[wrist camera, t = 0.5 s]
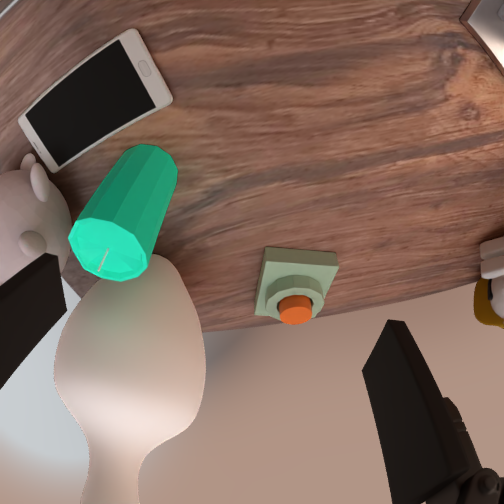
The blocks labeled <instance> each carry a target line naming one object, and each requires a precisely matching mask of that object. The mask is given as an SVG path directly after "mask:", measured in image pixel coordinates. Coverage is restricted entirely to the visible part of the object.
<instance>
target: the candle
mask: <svg viewBox="0 0 504 504" xmlns="http://www.w3.org/2000/svg"><path fill="white" fill-rule="evenodd" d="M177 174H178V169H177V167H176V165H175V163H174V161H173V159H172V157H171V155H169V154H168V153H166V152H165V151H163V150H162V149H161V148H159V147H158V146H153V145H145V144H139V145H137V146H134V147H132V148H130V149H127V150H126V151H125V152H124V153H123V155H122V156H121V157H120V159H119V160H118V161H117V162H116V164H115V165H114V166H113V168H112V169H111V170H110V172H109V173H108V174H107V176H106V177H105V179H104V180H103V181H102V183H101V184H100V186H99V187H98V188H97V190H96V191H95V193H94V194H93V196H92V197H91V199H90V200H89V202H88V203H87V205H86V206H85V208H84V209H83V211H82V212H81V214H80V215H79V217H78V218H77V220H76V222H75V224H74V226H73V228H72V230H71V232H70V234H69V236H68V240H69V242H70V245H71V247H72V250H73V252H74V253H75V255H76V257H77V258H78V260H79V262H80V263H81V265H82V267H83V268H84V269H85V270H87V271H89V272H91V273H93V274H95V275H97V276H99V277H101V278H103V279H109V280H115V281H120V282H122V281H125V280H129V279H132V278H136V277H138V276H139V275H140V274H141V273H142V272H144V271H145V270H146V269H147V267H148V264H149V261H150V258H151V255H152V252H153V249H154V246H155V243H156V240H157V237H158V234H159V231H160V228H161V225H162V222H163V219H164V217H165V214H166V211H167V208H168V205H169V203H170V200H171V197H172V195H173V192H174V190H175V187H176V184H177Z"/></svg>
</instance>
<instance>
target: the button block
mask: <svg viewBox="0 0 504 504" xmlns="http://www.w3.org/2000/svg"><path fill="white" fill-rule="evenodd" d="M338 268H339V264H338V260H337V257H336V253H333V252H322V251H310V250H299V249H287V248H275V247H265V251H264V256H263V261H262V266H261V271H260V276H259V281H258V286H257V290H256V295H255V300H254V315H263V316H271V317H273V318H276V319H278V320H281V319H280V313H279V302H280V300H282V299H283V298H284V297H287V296H291V295H305V296H307V297H308V298H309V299H310V301H311V308H312V317H311V318H315V316H316V314H317V313H318V312H320V311H321V309H322V307H323V305H324V298H325V296H326V294H327V292H328V290H329V287H330V285H331V283H332V281H333V279H334V277H335V275H336V273H337V270H338Z"/></svg>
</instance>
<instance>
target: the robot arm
mask: <svg viewBox="0 0 504 504" xmlns="http://www.w3.org/2000/svg"><path fill="white" fill-rule="evenodd" d="M66 311H67V308H66V303H65V298H64V292H63V286H62V280H61V274H60V267H59V259H58V256H57V255H53V254H50V253H46V252H45V253H44V254H42V255H41V256H39V257H38V258H37V259H35V260H34V261H32V262H31V263H30V264H28V265H27V266H26V267H24V268H23V269H22V270H20V271H19V272H18V273H16V274H15V275H14V276H12V277H11V278H10V279H8V280H7V281H6V282H5V283H3V284H2V285H1V286H0V389H1V388H2V387H3V386H4V384H5V383H6V382H7V380H8V379H9V378H10V376H11V375H12V374H13V372H14V371H15V370H16V369H17V368H18V366H19V365H20V364H21V363H22V362H23V360H24V359H25V358H26V357H27V356H28V354H29V353H30V352H31V351H32V350H33V348H34V347H35V346H36V345H37V344H38V343H39V341H40V340H41V339H42V338H43V337H44V336H45V335H46V333H47V332H48V331H49V330H50V329H51V328H52V327H53V326H54V325H55V323H56V322H57V321H58V320H59V319H60V318H61V317H62V315H64V314H65V313H66ZM362 373H363V377H364V380H365V384H366V388H367V391H368V395H369V398H370V402H371V407H372V411H373V414H374V418H375V423H376V426H377V431H378V435H379V439H380V444H381V448H382V453H383V457H384V462H385V467H386V472H387V476H388V482H389V487H390V492H391V498H392V504H421V503H423V502H425V501H426V504H504V477H501V478H500V477H499V476H498V475H497V473H496V472H495V471H494V470H492V469H490V468H482V466H481V464H480V461H479V459H478V456H477V454H476V451H475V448H474V446H473V443H472V441H471V439H470V436H469V434H468V432H466V427H465V424H464V422H462V417H461V415H460V413H459V411H458V409H457V407H456V406H455V405H454V404H453V402H452V401H451V400H450V399H449V398H448V397H445V398H443V397H442V395H441V392H440V390H439V388H438V386H437V384H436V382H435V380H434V378H433V376H432V374H431V371H430V370H429V367H428V365H427V363H426V362H425V359H424V357H423V356H422V354H421V352H420V350H419V348H418V346H417V344H416V342H415V340H414V338H413V336H412V335H411V333H410V331H409V329H408V327H407V326H406V324H405V322H404V321H397V320H387V322H386V324H385V327H384V329H383V331H382V333H381V335H380V337H379V339H378V341H377V343H376V345H375V347H374V349H373V351H372V352H371V355H370V356H369V358H368V360H367V362H366V364H365V366H364V367H363V369H362Z"/></svg>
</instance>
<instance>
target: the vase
mask: <svg viewBox="0 0 504 504" xmlns="http://www.w3.org/2000/svg"><path fill="white" fill-rule="evenodd" d="M205 375H206V361H205V351H204V344H203V337H202V332H201V326H200V322H199V318H198V315H197V312H196V309H195V307H194V304H193V302H192V300H191V298H190V296H189V294H188V291H187V289H186V287H185V285H184V283H183V281H182V278H181V276H180V274H179V273H178V271H177V269H176V268H175V267H174V265H173V264H172V263H171V262H170V261H169V260H167V259H166V258H164V257H162V256H160V255H157V254H152V255H151V258H150V261H149V264H148V267H147V269H146V270H145V271H144V272H142V273H141V274H140V275H139V276H138V277H136V278H132V279H129V280H125V281H122V282H120V281H115V280H109V279H103V278H101V279H100V280H99V281H98V282H96V283H95V284H94V285H93V286H92V287H91V288H90V289H89V291H88V292H87V293H86V294H85V295H84V297H83V298H82V299H81V301H80V302H79V303H78V305H77V306H76V308H75V309H74V310H73V312H72V313H71V315H70V317H69V318H68V321H67V322H66V324H65V326H64V328H63V331H62V333H61V336H60V340H59V344H58V347H57V351H56V355H55V362H54V381H55V385H56V390H57V392H58V394H59V396H60V398H61V399H62V401H63V403H64V404H65V406H66V407H67V409H68V410H69V411H70V413H71V414H72V416H73V417H74V418H75V420H76V421H77V423H78V424H79V426H80V427H81V429H82V431H83V433H84V435H85V437H86V439H87V443H88V447H89V455H90V462H89V471H88V476H87V480H86V484H85V487H84V490H83V493H82V497H81V502H80V504H140V501H139V494H138V476H139V471H140V467H141V465H142V462H143V460H144V459H145V457H146V456H147V454H148V453H149V452H150V451H152V450H153V449H154V448H155V447H157V446H158V445H160V444H162V443H163V442H165V441H167V440H169V439H170V438H172V437H174V436H176V435H178V434H179V433H181V432H182V431H184V430H185V429H186V428H188V427H189V426H190V424H191V423H192V421H193V420H194V419H195V417H196V415H197V413H198V410H199V408H200V404H201V400H202V396H203V391H204V384H205Z"/></svg>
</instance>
